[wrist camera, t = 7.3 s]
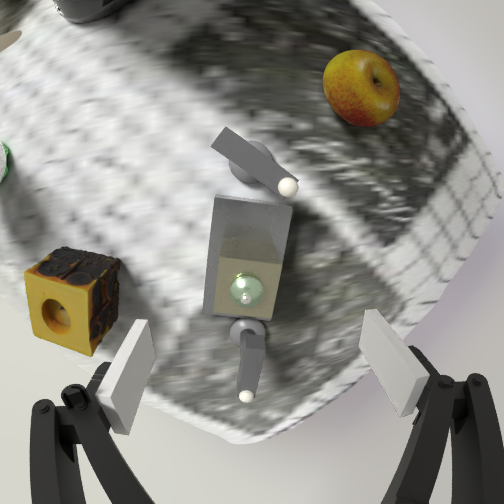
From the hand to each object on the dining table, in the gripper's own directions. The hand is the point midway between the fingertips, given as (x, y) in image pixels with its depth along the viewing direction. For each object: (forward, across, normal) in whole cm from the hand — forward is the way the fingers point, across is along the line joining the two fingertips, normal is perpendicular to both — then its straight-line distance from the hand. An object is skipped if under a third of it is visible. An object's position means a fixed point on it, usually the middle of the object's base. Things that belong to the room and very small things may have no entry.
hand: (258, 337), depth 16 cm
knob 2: (+21, 0, -13) cm, 25 cm away
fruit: (+21, +13, +19) cm, 31 cm away
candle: (+21, -23, -5) cm, 32 cm away
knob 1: (+21, +1, +10) cm, 23 cm away
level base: (+21, 0, -2) cm, 21 cm away
